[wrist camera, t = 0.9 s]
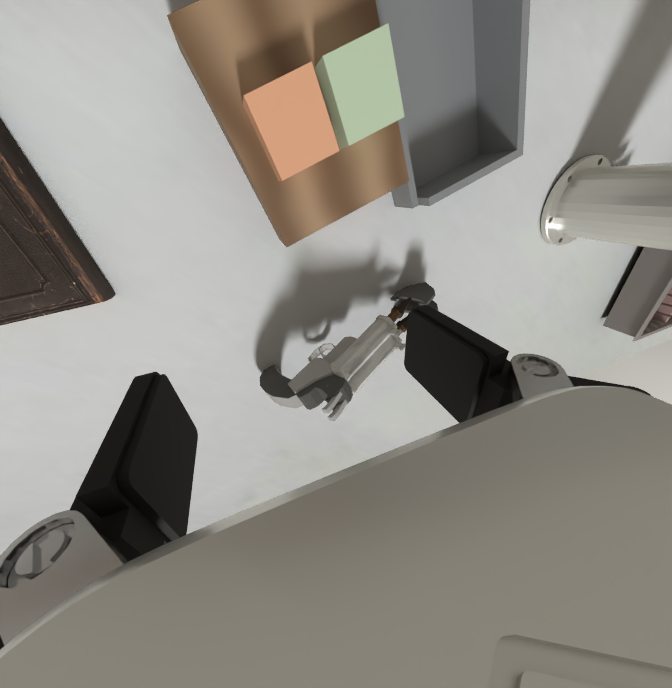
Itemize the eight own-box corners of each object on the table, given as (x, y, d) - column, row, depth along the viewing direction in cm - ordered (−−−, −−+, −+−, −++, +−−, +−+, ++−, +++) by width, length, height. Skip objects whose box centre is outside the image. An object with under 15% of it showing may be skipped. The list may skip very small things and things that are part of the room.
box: (468, -156, 20) (542, -264, 15) (480, 159, 33) (522, 154, 28) (326, -90, 20) (357, -182, 15) (394, 206, 33) (423, 209, 28)
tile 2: (304, 72, 20) (311, 61, 18) (331, 153, 23) (339, 150, 21) (242, 103, 20) (243, 95, 18) (278, 181, 23) (282, 180, 21)
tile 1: (374, 37, 20) (388, 22, 19) (391, 122, 24) (404, 116, 22) (314, 67, 20) (322, 55, 18) (340, 149, 23) (349, 145, 22)
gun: (247, 374, 37) (304, 425, 26) (365, 271, 46) (443, 276, 35) (267, 396, 40) (325, 450, 29) (373, 295, 49) (448, 307, 38)
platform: (336, -26, 21) (360, -77, 17) (386, 182, 31) (409, 181, 27) (180, 49, 21) (167, 15, 17) (279, 239, 30) (286, 247, 26)
